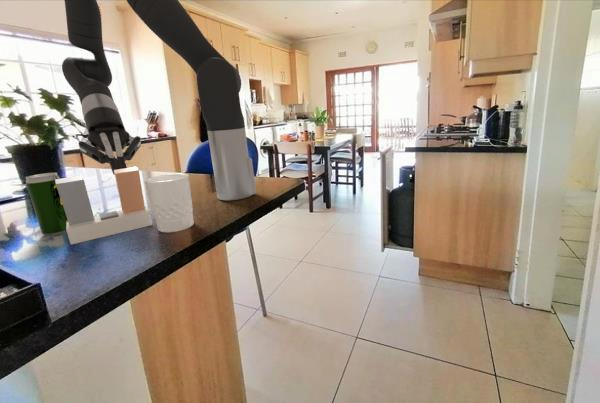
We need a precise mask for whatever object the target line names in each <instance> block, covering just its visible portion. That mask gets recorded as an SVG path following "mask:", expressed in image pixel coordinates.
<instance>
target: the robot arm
mask: <svg viewBox="0 0 600 403" xmlns="http://www.w3.org/2000/svg"><path fill="white" fill-rule="evenodd" d="M126 3H128V5H129V7H130V8H131V9H132V10H133V12H134V14H136V15H137V17H139V18H140V20H141V21H142V22H143V24H145V25H146V27H147V28H148V29H149V30H150V31H152V33H153V34H155V36H157V37H158V38H159V39H160V40H161V41H162V42H163V43H165V44H166V45H167V46H168V47H169V48H170V49H172V50H173V51H174V52H175V53H176V54H178V56H180V57H181V58H182V59H183V60H184V61H185V62H186V63H187V64H188V65H189V67H191V69H192V70H193V72H194V73H195V74H196V84H197V91H198V92H197V93H198V98H199V102H200V103H199V104H200V109H201V113H202V117H203V120H204V121H205V125H206V131H207V137H208V142H209V150H210V157H211V163H212V170H213V175H214V182H215V183H214V184H215V191H216V195H217V196H216V197H217V199H218V200H221V201H237V200H243V199H246V198H249V197H251V196H253V195H256V194H257V189H256V182H255V175H254V174H255V173H254V166H253V159H252V157H250V156H249V150H248V142H247V133H246V125H245V118H244V115H243V111H242V107H241V100H240V91H241V88H242V78H241V75H240V74H239V73H240V72H239V71H238V69H237V68H236V67H235V66H234V65H233V64H231V63H230V62H229V61H228V60H227V59H226V58H225V57H224V56H223V54H221V53H220V52H219V51H218V50H217V49H216V48H215V47H214V46H213V45H212V44H211V42H209V41H208V40H207V38H206V37H205V35H204V34H203V32H202V31H201V30H200V29H199V27H198V26H197V24H196V23H195V21H194V20H193V19H192V17H191V15H190V14H189V13H188V11H187V9H185V8H184V6H183V4H181V2H180V1H179V0H126ZM64 7H65V16H66V26H67V27H66V28H67V37H68V41H69V43H70V45H72V46H73V47H76V48H77V49H81V50H85V51H88V52H90V53H91V54H92V55H93V57H94V58H89V57H83V56H82V57H80V56H67V57H66V58H65V59H63V61H62V63H61V71H62V74H63V76H64V78H65V80H66V81H67V84H68V85H69V86H70V87H71V89H73V90H74V92H75V94H76V95H77V97H79V102H80V105H81V113H82V116H83V120H84V122H85V126H86V130H87V132H88V135H87V140H85V141H79V142H78V147H79V151H80V153H82V154H83V155H85V156H87V157H88V158H90V159H92V160H94V161H95V162H98V163H99V164H101V165H104V164H109V166H110V169H111V172H112V174H113V175H114V176H115V174H114V170H117V169H124V168H128V167H127V164H126V161H131V160H132V159H133V158H134V157H135V155H136V153H137V152H138V150H139V149H140V147H141V142H142V140H141V136H139V135H136V136H135V137H134V136H131V134H130V133H129V132H128V131H127V130H126V128H125V125H124V122H123V120H122V117H121V114H120V112H119V108H118V107H117V105H116V103H115V101H114V99H113V95H112V92H111V90H110V88H109V86H111V84H112V83H113V82H112V81H113V75H112V71H111V68H110V66H109V63H108V62H109V61H108V59H107V57H106V54H105V49H104V48H105V47H104V43H103V28H102V27H103V26H102V23H103V22H102V15H101V10H100V7H99V4H98V1H97V0H64ZM128 144H129V145H128ZM127 145H128V147H127V148H126V146H127ZM125 148H126V149H125ZM124 149H125V151H124V152H123V150H124ZM114 152H115V154H114Z"/></svg>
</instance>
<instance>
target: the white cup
mask: <svg viewBox="0 0 600 403" xmlns="http://www.w3.org/2000/svg"><path fill="white" fill-rule="evenodd" d="M143 182H144V185H145V189H146V193H147V196H148V200H149V204H150V207H151V210H152V215H153V217H154V218H155V219H154V220H155V223H156V226H157V230H158V231H159V232H161V233H177V232H181V231H184V230H187V229H189V228H191V227H193V225H194V223H195V222H194V215H193V214H194V213H193V210H194V209H193V201H192V199H193V198H192V194H191V193H192V192H191V183H190V175H189V174H187V173H182V172H181V173H180V172H179V173H169V174H162V175H156V176H152V177H149V178H146V179H145V180H144V181H143Z"/></svg>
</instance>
